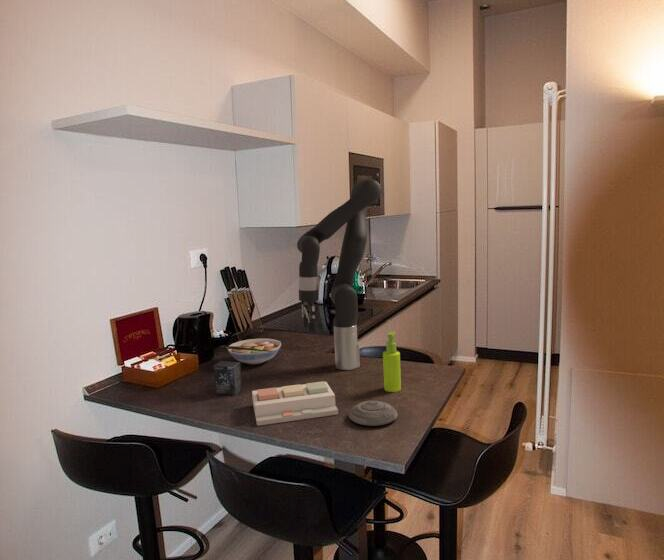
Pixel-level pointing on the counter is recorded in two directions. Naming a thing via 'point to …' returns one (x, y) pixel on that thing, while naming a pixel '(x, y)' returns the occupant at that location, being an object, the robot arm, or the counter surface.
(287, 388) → the sand key
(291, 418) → the keypad
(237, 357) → the ramen bowl
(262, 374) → the counter surface
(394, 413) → the flying saucer
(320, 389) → the sage key
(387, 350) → the soap dispenser
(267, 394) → the coral key
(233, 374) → the box
